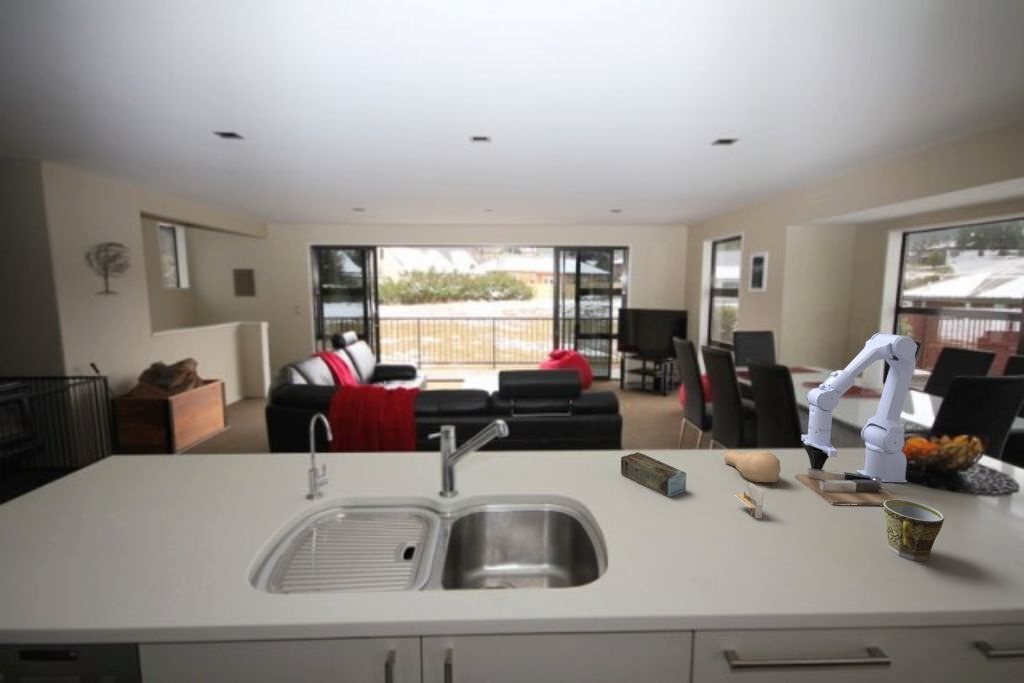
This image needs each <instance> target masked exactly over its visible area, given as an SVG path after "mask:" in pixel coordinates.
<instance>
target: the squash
mask: <svg viewBox="0 0 1024 683" xmlns="http://www.w3.org/2000/svg"><path fill="white" fill-rule="evenodd" d="M723 460H724V463H725V464H726V465H729V466H733V467H735V468H736V469H737V470H738V471H739V473H741V475H742V477H743V478H744V479H746V480H748V481H750V482H752V483H775V482H777V481H778V480H779V477H780V473H781V471H782V470H781V462H780V459H779V458H778V457H777V456H776V455H775V454H774V453H771V452H770V451H766V450H765V451H764V450H763V451H760V450H756V451H755V450H754V451H749V452H746V453H742V452H741V453H740V452H738V451H736V450H729V451H727V452H726V453H724V457H723Z"/></svg>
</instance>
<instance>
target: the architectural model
mask: <svg viewBox="0 0 1024 683" xmlns="http://www.w3.org/2000/svg"><path fill="white" fill-rule="evenodd" d="M746 486H747V488H748V493H746V491H745V490H744V491H743V493H740V494H739V493H737V494H736V493H735V494H734V497H736V499H738V500H739V501H741V502H742V503H743V504H745V506H747V509H748V511H749V512H750V515H751V516H753V515H752V514H755V515H754V519H762V518H763V505H764V491H763V490H761V489H760V488H759V487H758V486H756V485H755V484H754V483H753V482H752V483H751V482H749V485H748V484H747V485H746Z"/></svg>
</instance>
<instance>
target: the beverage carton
mask: <svg viewBox="0 0 1024 683" xmlns="http://www.w3.org/2000/svg"><path fill="white" fill-rule="evenodd" d="M620 469H621V470H620V474H621V475H622V476H624V477H626V478H629V479H630V480H632V481H634V482H636V483H639V484H640V485H643V486H644V487H647V488H648V489H651V490H652V491H655V492H656V493H658V494H661V495H662V496H665V497H666V498H671V497H673V496H676V495H679V494H682V493H684V492H686V487H687V473H686V472H684V471H682V470H680V469H678V468H676V467H673V466H671V465H669V464H666V463H664V462H662V461H660V460H658V459H655V458H653V457H651V456H648V455H646V454H644V453H642V452H639V451H637V452H633V453H630V454H627V455H624V456H621V458H620ZM670 496H671V497H670Z"/></svg>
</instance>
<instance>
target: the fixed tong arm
mask: <svg viewBox="0 0 1024 683" xmlns="http://www.w3.org/2000/svg"><path fill="white" fill-rule="evenodd" d="M819 489H820V490H821V491H822V492H856V493H879V482H877V481H875V480H852V481H841V480H820V487H819Z"/></svg>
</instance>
